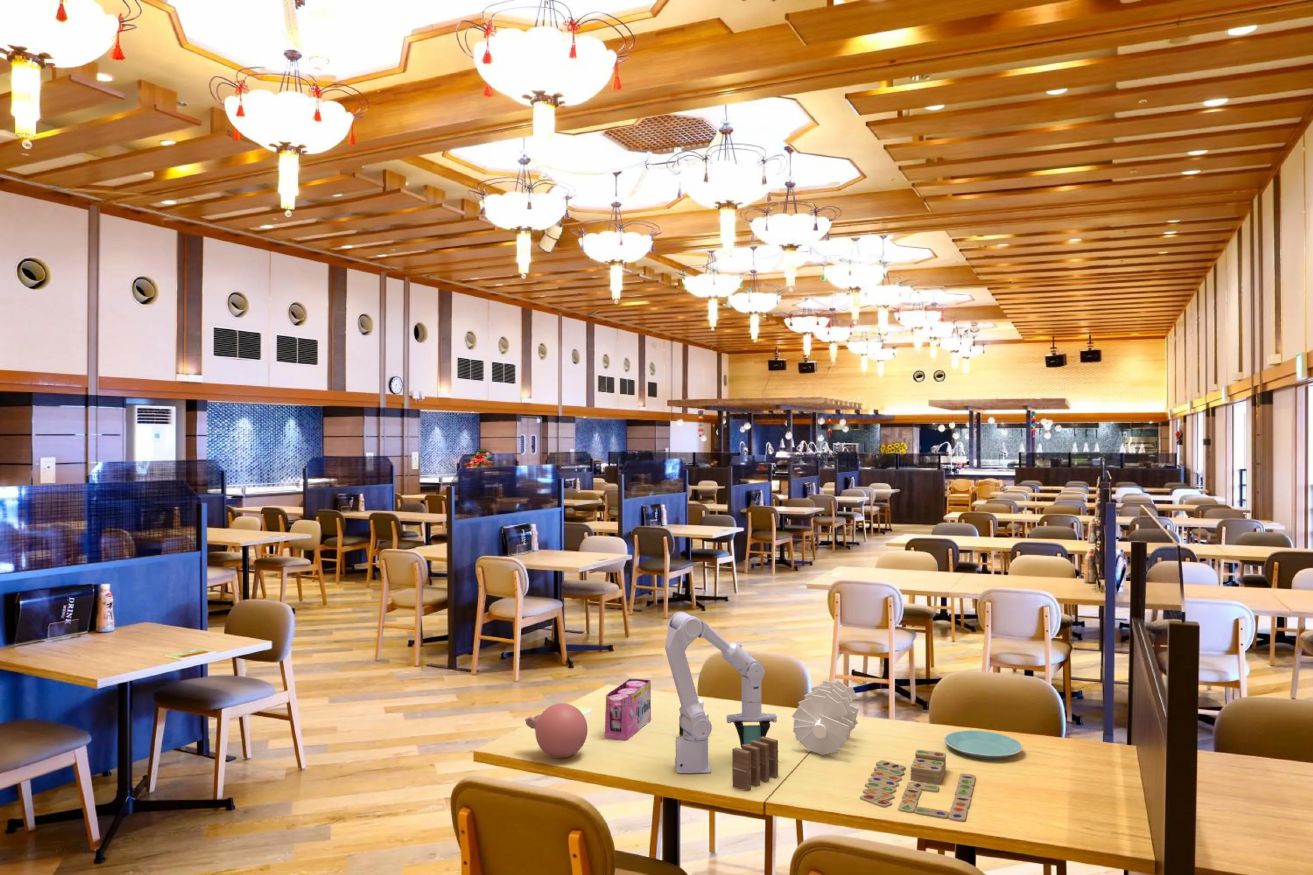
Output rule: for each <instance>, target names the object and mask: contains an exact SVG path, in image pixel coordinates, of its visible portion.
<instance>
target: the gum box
mask: <svg viewBox="0 0 1313 875" xmlns="http://www.w3.org/2000/svg"><path fill="white" fill-rule="evenodd" d="M651 691H652V680H650V679H640V678H629V679H627V680H626V681H625V682H623V683H621V684H620V685H618V686H616V688H614V689H613V690H611V691H610V692H608V693H607V694H606V695H605V718H604V720H605V721H604V738H605V739H611V738H612V739H613V740H619V739H620V740H622V741H628V740H629V739H630V738H632V737H633V736H634V735H635V734H636V733H638V732H639V731H640V730H641V729H642V727H643V728H644V727H645V726H646V725H647V724H648V723H650V722H651V721H650V720H652V710H651V709H652V708H651V707H652V706H651V704H652V702H651V701H652V696H651V695H652V694H651V693H652V692H651ZM645 724H646V725H645ZM644 725H645V726H644ZM620 740H619V741H620Z"/></svg>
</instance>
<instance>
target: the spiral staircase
mask: <svg viewBox="0 0 1313 875" xmlns="http://www.w3.org/2000/svg"><path fill="white" fill-rule="evenodd" d="M810 690H811V692H808V693H806V694H804V699H803V700H801V701H798V702H797V704H798V707H797V708H796V710H795V711H794V712H793V714H792V715H791V717H792V718H793V728H792V733H794V735H795V739H796V741H798V742H800V744H801V745H802V746H803V747H804V748H805V750H806V751H807V752H811V751H812V752H813V753H817V754H818V755H821V756H823V757H825V756H826V754H836V753H839V752H840V750H839V749H840V748H841V747H842V746H844V745H845V744H846V743H847V742H848V739H849V738H851V735H850V734H851V733H852V731H853V730H855V728H856V725H857V724H858V723H859V722H858V721H857V717H858V713H859V708H858V707H857V706H856V707H855V706H853V705H851V704H852V703H854V700H856V699H858V696H857V694H856V691H855V690H854V687H853V686H851V685H850V686H847V685H846V684H844V683H843V682H842V681H840V680H839V679H837V680H836V682H835V681H830V680H829V681H828V680H824V679H823V680H822V683H821V684H818V685H815V686H813V687H811V688H810Z"/></svg>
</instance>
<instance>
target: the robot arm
mask: <svg viewBox="0 0 1313 875" xmlns="http://www.w3.org/2000/svg"><path fill="white" fill-rule="evenodd" d="M697 638H699V639H705V640H706V641H707V642H708V643H710V644H711V645H712V646H714V647H715V648H716V649H718V650H719V651H720V652H721V656H722V657H721V658H722V659H723V660H724V661H726V663H728V664H729V665H730V666H732V667H733V668H734V669H736V670H737V672H738V674H740V675H741V712H740V713H733V714H732V713H730V714H726V724H731V723H733V724H734V727H735V729H736V731H737V732H736V733H737V735H738V738H739V743H740V749H742V745H743V744H744V738H743V736H744V726H743V725H744V723H759V724H758V725H760V727H761V737H763V736H764V737H767V734H768V732H769V730H770V729H771V723H777V722H778V718H777V717H778V716H777V714H776V713H764V712H762V681H763V678H764V677H765V674H766V669H764V665H763V664H762V662H760V661H758V660H756V659H755V658H754V655H753V654H752V653H751V652H750V653H749V652H747V651H746V650H745V649H743V645H742V644H741V643H739V642H737V643H736V642H733V641H732V642H728V641H727V640H726V639H725V638H724V637H723V636H722V635H720V633H719V632H717V631H716V630H715V629H714V628H712V627H711V626H710V625H709V624H708V623H706V622H704V621H703V620H702V619H700V618H698V617H697V616H693V615H690V614H689V613H687V612H685V611H677V612H675V613H674V614H672V617H671V618H670V619H669V620H668V622H667V633H666V638H665V639H666V640H665V645H664V648H665V649H664V650H665V653H666V657H667V660H668V664H669V666H670V671H671V674H672V679H673V681H674V685H675V689H676V692H677V695H678V700H679V704H680V707H679V709H678V710H679V716H680V726H681V727H682V729H683V736H682V737H679V736H677V737H675V757H674V764H675V768H676V772H677V774H701V773H702V774H704V773H705V774H708V773H709V774H710V773H712V770H711V766H710V763H709V736H710V735H711V733H712V729H713V726H712V722H711V721H710V719H709V720H708V719H707V717H706V715H705V713H706V712H705V710H704V708H703V709H702V707H701V705H700V704H699V700H698V698H699V697H698V694H697V691H696V687H695V683H694V679H693V676H692V672H691V669H690V666H689V662H688V658H687V654H686V650H687V648H688V647H689V646H690V645H691V644H692V643H693V642H694V641H695V640H696V639H697Z"/></svg>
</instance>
